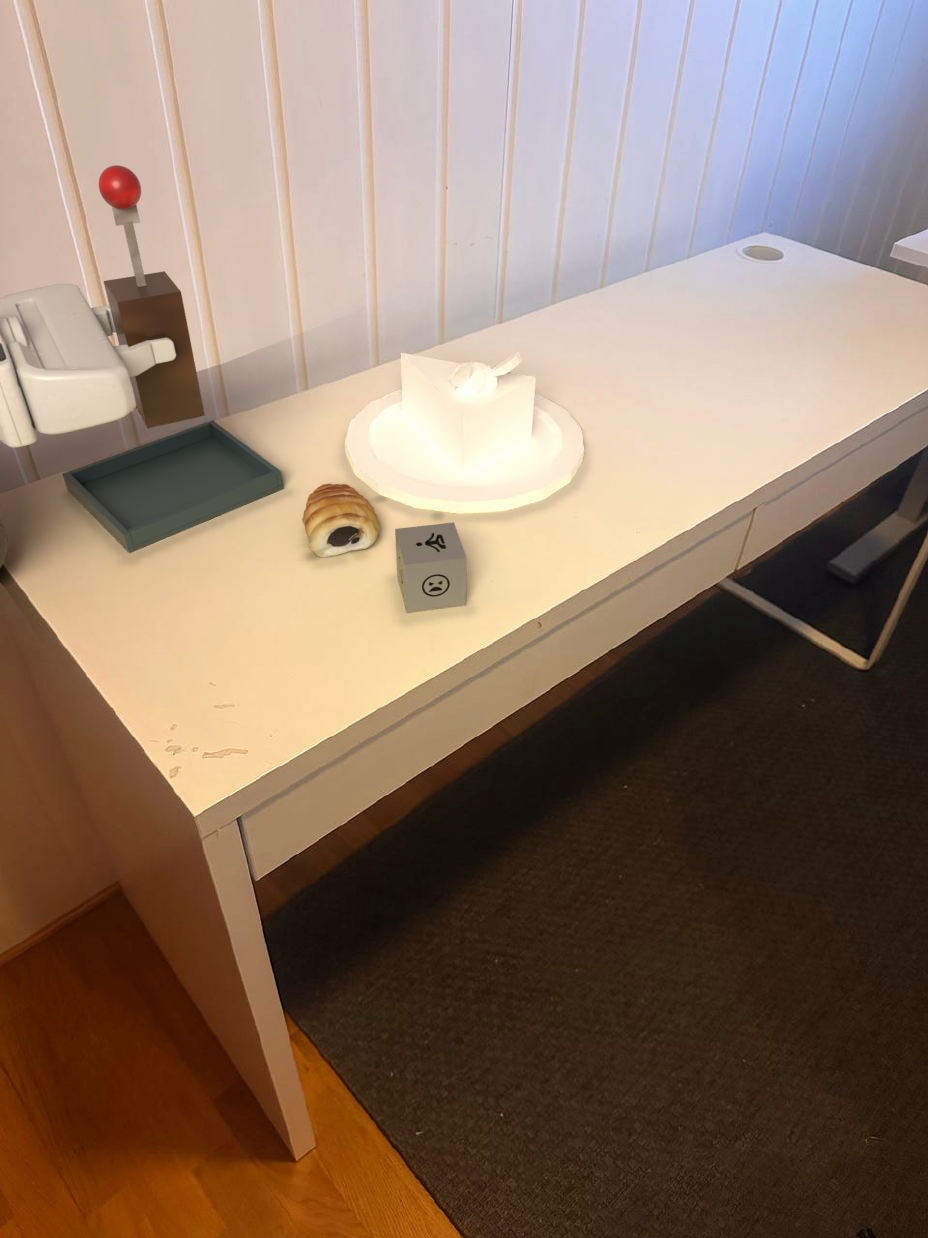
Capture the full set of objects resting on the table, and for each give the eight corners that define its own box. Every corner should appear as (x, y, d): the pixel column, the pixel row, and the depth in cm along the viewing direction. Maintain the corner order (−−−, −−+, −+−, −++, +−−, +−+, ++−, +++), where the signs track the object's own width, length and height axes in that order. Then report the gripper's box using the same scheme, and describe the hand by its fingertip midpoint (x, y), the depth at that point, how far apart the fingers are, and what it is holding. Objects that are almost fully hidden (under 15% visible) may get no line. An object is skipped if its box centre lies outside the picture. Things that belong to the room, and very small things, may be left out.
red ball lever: (147, 428, 77) (87, 178, 64) (133, 403, 80) (73, 161, 67) (205, 415, 79) (157, 170, 65) (189, 392, 82) (141, 154, 69)
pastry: (296, 504, 86) (292, 470, 83) (366, 495, 87) (364, 461, 85) (311, 562, 79) (307, 527, 76) (386, 551, 80) (384, 516, 78)
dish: (629, 443, 95) (644, 342, 88) (472, 545, 81) (475, 435, 74) (458, 371, 107) (459, 277, 100) (296, 449, 93) (284, 346, 86)
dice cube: (465, 605, 75) (466, 557, 72) (406, 612, 74) (404, 565, 71) (453, 569, 78) (453, 522, 75) (397, 575, 78) (395, 528, 74)
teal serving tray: (129, 553, 80) (123, 535, 78) (67, 490, 87) (62, 473, 86) (284, 488, 88) (281, 471, 86) (215, 436, 95) (212, 419, 94)
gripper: (-19, 351, 79) (140, 322, 84) (17, 459, 65) (204, 417, 70) (-44, 279, 75) (125, 254, 80) (-12, 379, 61) (189, 340, 66)
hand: (162, 331), depth 75 cm, fingers closed on red ball lever, 5 cm apart
